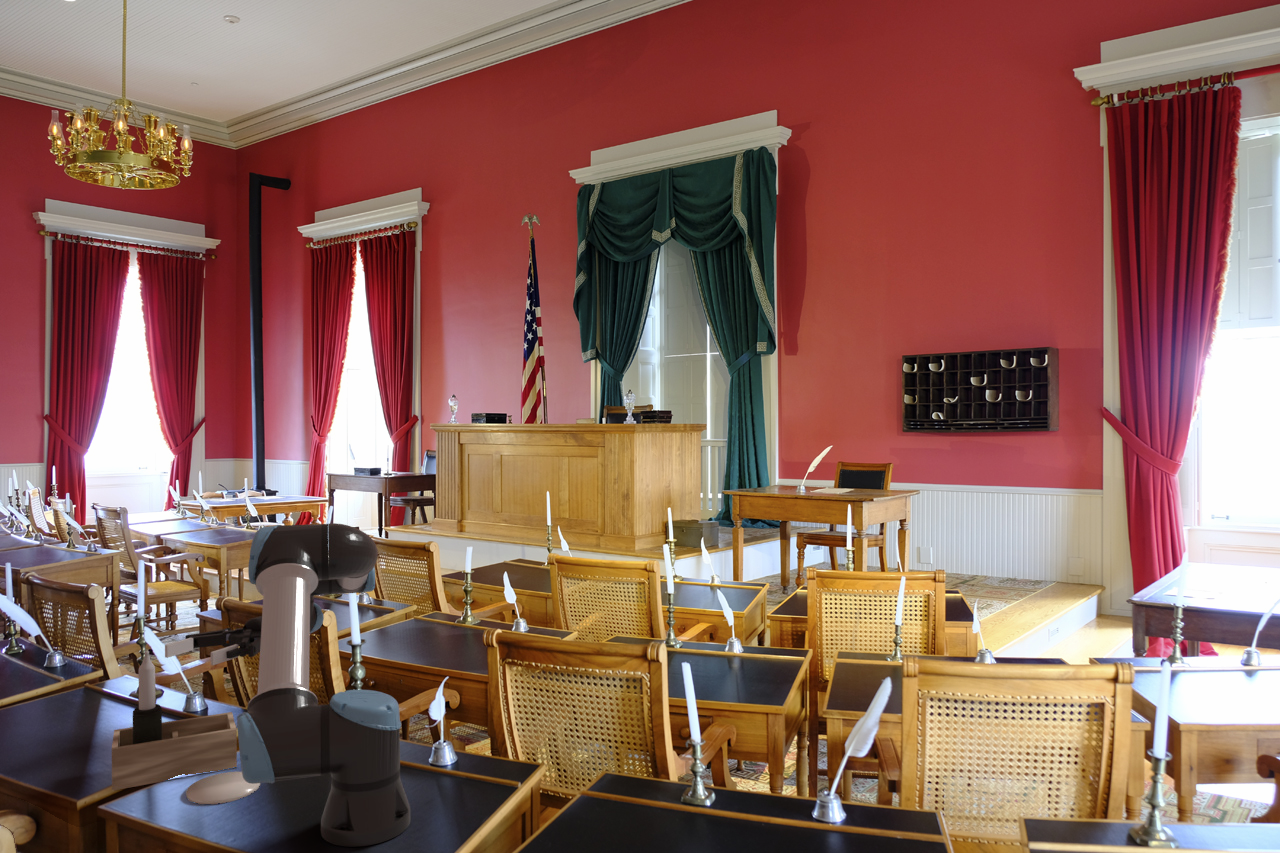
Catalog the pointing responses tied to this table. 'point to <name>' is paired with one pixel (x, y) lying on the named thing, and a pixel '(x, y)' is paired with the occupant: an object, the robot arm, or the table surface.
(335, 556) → the robot arm
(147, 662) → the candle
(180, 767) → the candle box
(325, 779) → the table surface
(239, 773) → the plate
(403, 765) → the table surface
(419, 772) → the table surface
